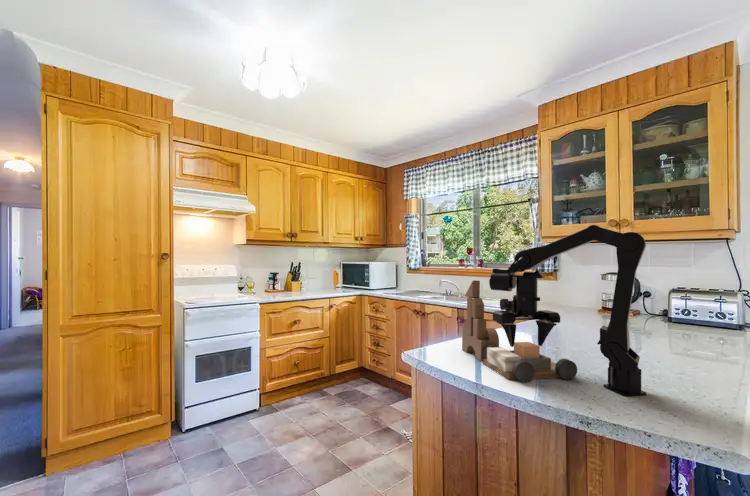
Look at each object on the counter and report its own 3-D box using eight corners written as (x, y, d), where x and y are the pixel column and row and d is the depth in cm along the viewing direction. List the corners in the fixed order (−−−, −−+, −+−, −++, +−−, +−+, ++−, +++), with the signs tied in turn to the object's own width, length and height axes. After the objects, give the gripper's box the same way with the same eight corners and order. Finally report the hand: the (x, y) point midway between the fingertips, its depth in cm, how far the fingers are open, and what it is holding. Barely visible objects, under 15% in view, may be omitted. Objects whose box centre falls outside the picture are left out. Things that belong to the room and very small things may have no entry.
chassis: (580, 379, 95) (580, 359, 95) (513, 382, 91) (513, 361, 91) (536, 359, 113) (536, 342, 113) (479, 361, 109) (479, 344, 109)
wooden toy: (500, 361, 110) (501, 282, 111) (480, 361, 109) (481, 282, 110) (477, 348, 126) (478, 278, 126) (459, 348, 124) (460, 278, 125)
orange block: (539, 367, 100) (539, 346, 100) (523, 367, 99) (523, 346, 99) (528, 361, 105) (528, 341, 105) (513, 362, 104) (513, 342, 104)
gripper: (537, 290, 112) (536, 338, 112) (483, 290, 109) (483, 340, 108) (562, 294, 101) (561, 348, 101) (503, 294, 98) (502, 349, 97)
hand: (525, 346), depth 102 cm, fingers open, 9 cm apart
